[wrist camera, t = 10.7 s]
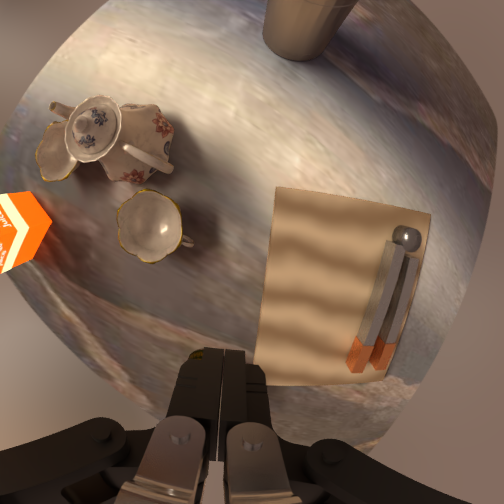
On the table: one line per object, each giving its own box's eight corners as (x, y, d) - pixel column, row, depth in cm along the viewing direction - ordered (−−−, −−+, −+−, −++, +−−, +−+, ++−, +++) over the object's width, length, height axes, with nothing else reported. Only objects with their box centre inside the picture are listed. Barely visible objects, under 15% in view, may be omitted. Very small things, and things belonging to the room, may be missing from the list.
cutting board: (276, 186, 34) (277, 186, 33) (425, 213, 36) (430, 214, 34) (250, 378, 41) (251, 384, 40) (379, 376, 43) (382, 380, 41)
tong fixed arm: (399, 252, 36) (410, 258, 33) (409, 254, 36) (420, 259, 33) (368, 360, 40) (375, 370, 37) (378, 359, 40) (385, 369, 37)
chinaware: (50, 170, 34) (-26, 184, 18) (94, 75, 29) (21, 49, 13) (185, 261, 38) (142, 326, 22) (249, 158, 33) (242, 155, 18)
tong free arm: (389, 221, 34) (401, 224, 31) (411, 227, 34) (424, 231, 31) (345, 361, 39) (351, 373, 36) (366, 362, 40) (374, 373, 36)
